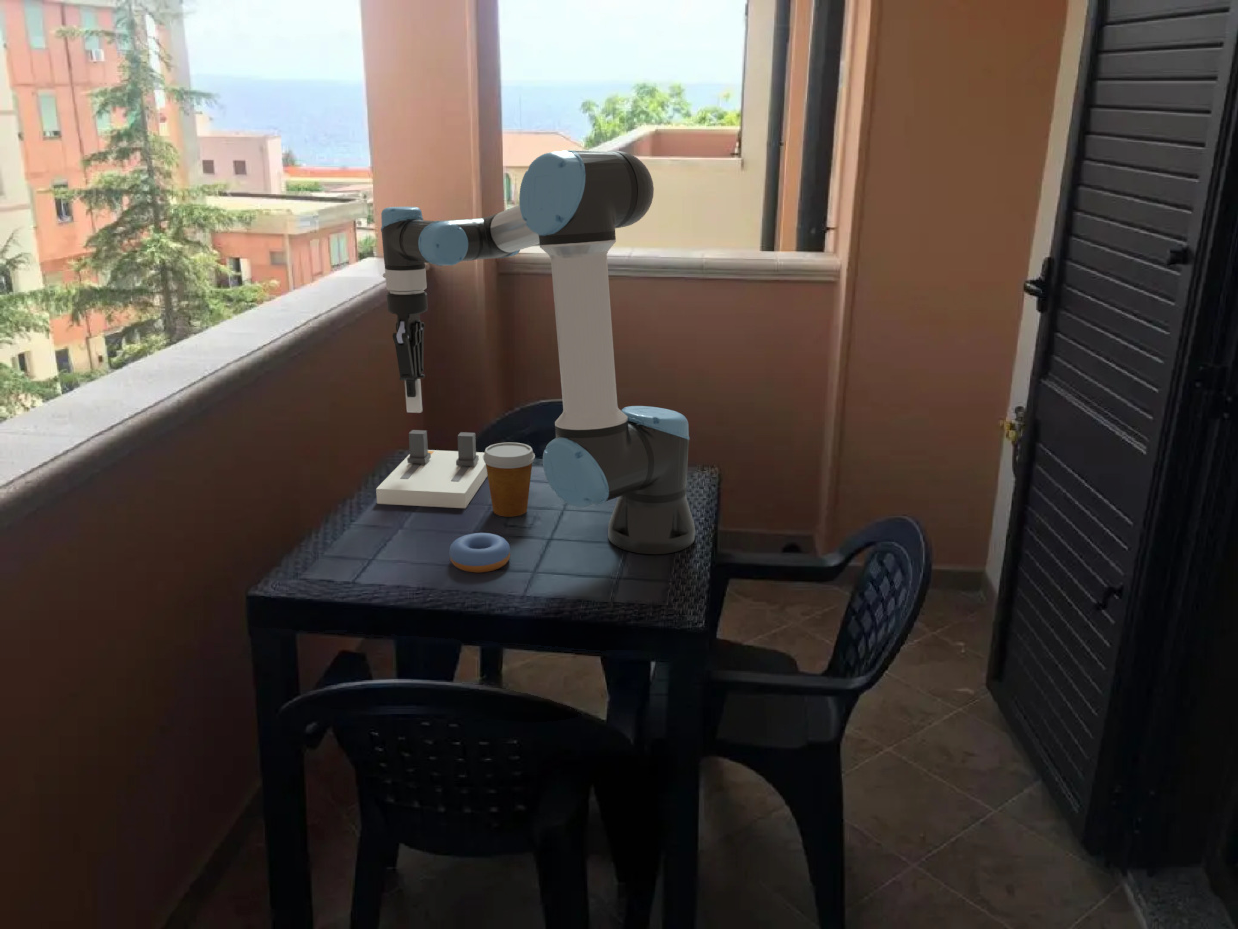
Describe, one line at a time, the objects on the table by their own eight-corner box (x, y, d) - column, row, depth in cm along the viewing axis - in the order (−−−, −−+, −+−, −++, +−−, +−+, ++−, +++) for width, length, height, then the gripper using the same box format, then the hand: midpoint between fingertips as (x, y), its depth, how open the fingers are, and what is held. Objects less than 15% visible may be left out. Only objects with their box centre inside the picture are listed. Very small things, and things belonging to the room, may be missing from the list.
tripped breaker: (425, 463, 196) (423, 435, 194) (407, 463, 196) (405, 434, 194) (430, 457, 200) (429, 429, 198) (413, 456, 200) (412, 428, 198)
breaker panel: (465, 508, 183) (464, 492, 182) (377, 503, 184) (376, 488, 183) (493, 466, 205) (493, 452, 204) (414, 462, 207) (414, 448, 206)
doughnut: (441, 572, 156) (443, 546, 155) (455, 550, 165) (457, 524, 164) (503, 581, 156) (506, 554, 154) (513, 558, 165) (516, 532, 164)
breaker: (473, 466, 195) (472, 437, 193) (456, 465, 195) (455, 436, 193) (478, 459, 199) (477, 431, 197) (461, 459, 199) (460, 431, 197)
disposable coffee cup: (532, 521, 177) (532, 458, 173) (480, 519, 178) (478, 457, 174) (538, 502, 186) (537, 442, 182) (488, 500, 187) (486, 441, 183)
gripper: (398, 286, 191) (406, 402, 199) (375, 295, 179) (385, 419, 186) (435, 286, 191) (442, 403, 198) (415, 296, 178) (423, 421, 186)
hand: (414, 411), depth 192 cm, fingers closed
